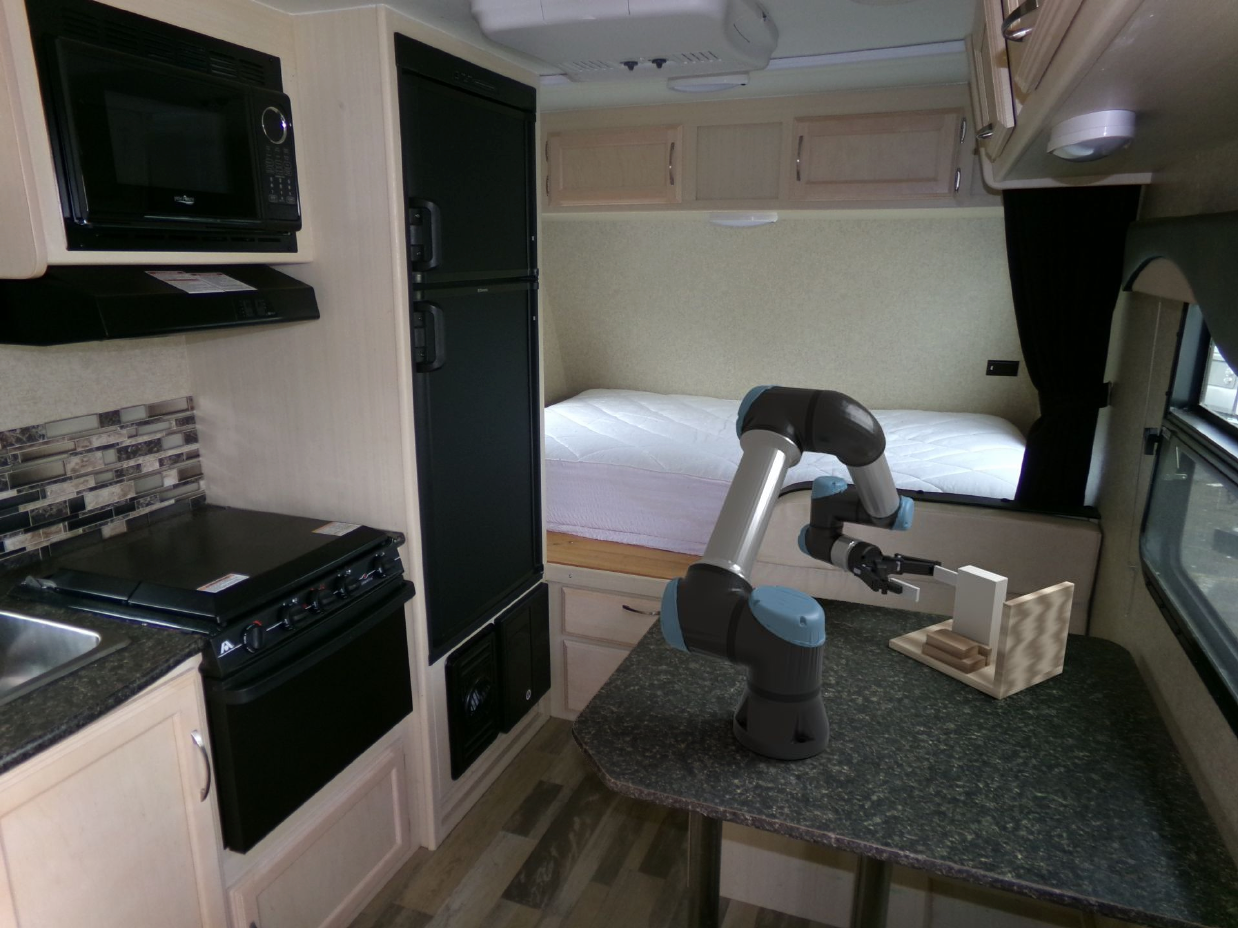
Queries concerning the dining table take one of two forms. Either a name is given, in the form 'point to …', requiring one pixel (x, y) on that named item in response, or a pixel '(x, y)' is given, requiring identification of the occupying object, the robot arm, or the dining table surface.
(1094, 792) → the dining table surface
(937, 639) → the walnut offcuts
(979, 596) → the white block
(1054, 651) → the maple rack
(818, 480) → the robot arm
